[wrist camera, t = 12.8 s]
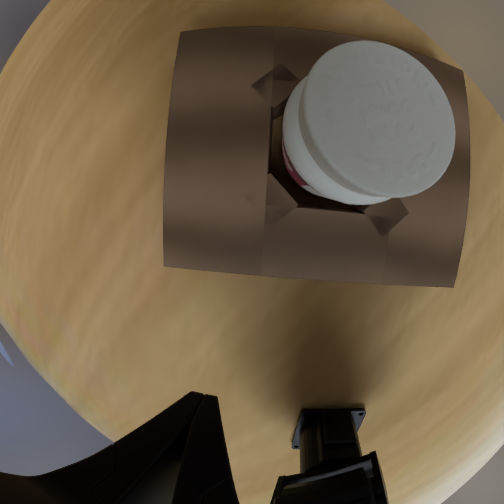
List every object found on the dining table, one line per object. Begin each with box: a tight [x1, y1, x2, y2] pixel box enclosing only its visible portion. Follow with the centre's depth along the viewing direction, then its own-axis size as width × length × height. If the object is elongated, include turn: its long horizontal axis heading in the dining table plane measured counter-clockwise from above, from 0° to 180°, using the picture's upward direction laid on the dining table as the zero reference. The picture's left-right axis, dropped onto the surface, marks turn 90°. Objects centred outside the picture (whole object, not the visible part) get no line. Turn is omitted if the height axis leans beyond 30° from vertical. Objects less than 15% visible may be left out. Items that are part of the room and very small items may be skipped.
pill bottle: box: [282, 40, 455, 205], centre depth 12 cm, size 6×6×11 cm
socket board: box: [163, 26, 470, 288], centre depth 16 cm, size 16×20×3 cm
